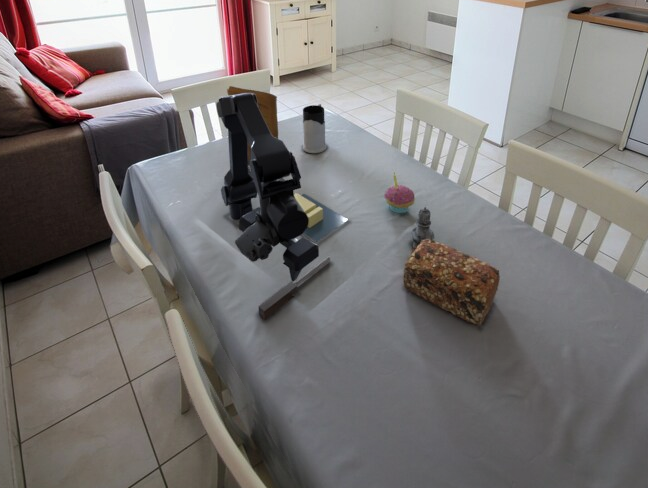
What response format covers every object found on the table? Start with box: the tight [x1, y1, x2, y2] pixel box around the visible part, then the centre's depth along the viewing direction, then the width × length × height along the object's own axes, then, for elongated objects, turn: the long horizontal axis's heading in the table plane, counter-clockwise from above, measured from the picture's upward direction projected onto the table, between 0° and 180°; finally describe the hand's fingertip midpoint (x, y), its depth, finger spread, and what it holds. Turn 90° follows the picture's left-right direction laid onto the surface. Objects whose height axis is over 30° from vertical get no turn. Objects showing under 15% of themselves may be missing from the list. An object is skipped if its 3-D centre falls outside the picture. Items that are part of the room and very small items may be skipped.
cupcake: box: [384, 172, 416, 214], centre depth 121 cm, size 9×8×12 cm
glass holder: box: [302, 103, 328, 154], centre depth 156 cm, size 9×14×15 cm, turn 170°
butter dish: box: [300, 193, 349, 243], centre depth 119 cm, size 18×12×1 cm, turn 49°
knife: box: [257, 255, 331, 321], centre depth 96 cm, size 2×20×2 cm, turn 139°
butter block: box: [294, 192, 316, 214], centre depth 119 cm, size 8×5×4 cm, turn 49°
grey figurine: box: [410, 206, 435, 250], centre depth 108 cm, size 6×6×12 cm
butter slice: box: [307, 207, 323, 228], centre depth 115 cm, size 2×5×4 cm, turn 139°
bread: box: [403, 239, 501, 327], centre depth 94 cm, size 19×11×10 cm, turn 54°
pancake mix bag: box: [226, 85, 279, 165], centre depth 139 cm, size 7×19×28 cm, turn 58°
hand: (279, 268), depth 90 cm, fingers open, 9 cm apart
